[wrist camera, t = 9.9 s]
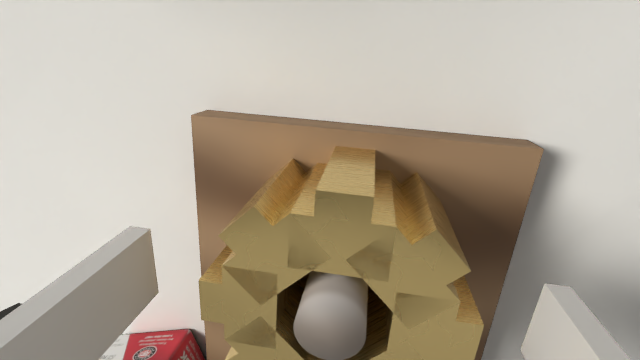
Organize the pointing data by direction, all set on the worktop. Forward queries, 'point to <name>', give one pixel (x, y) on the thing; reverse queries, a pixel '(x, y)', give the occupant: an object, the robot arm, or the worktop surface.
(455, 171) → the gear board
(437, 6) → the worktop surface
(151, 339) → the ink box
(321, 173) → the brass gear
